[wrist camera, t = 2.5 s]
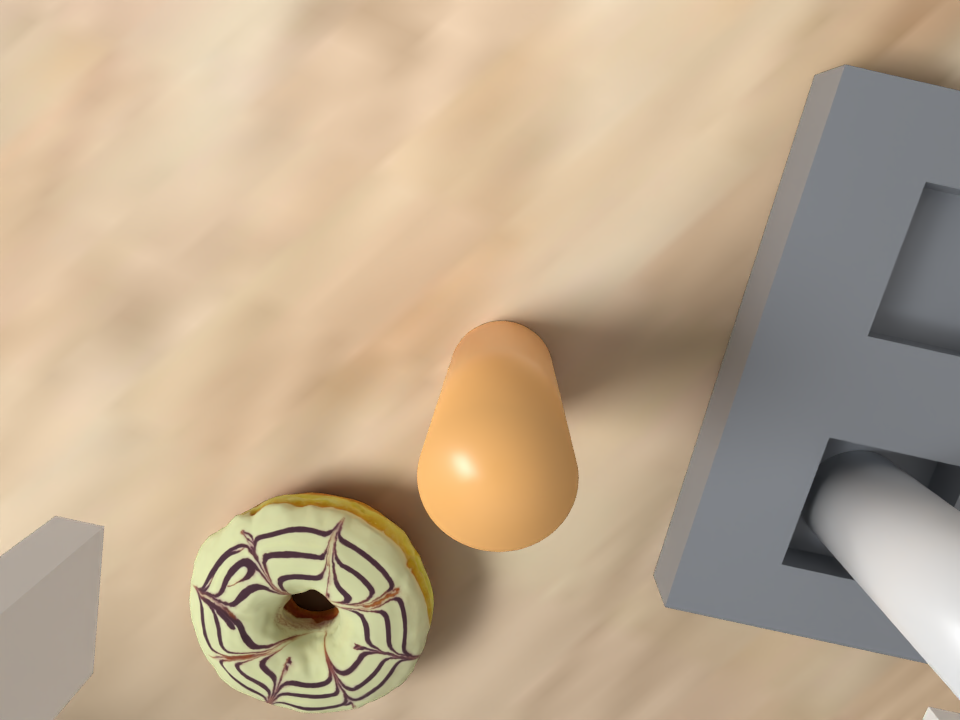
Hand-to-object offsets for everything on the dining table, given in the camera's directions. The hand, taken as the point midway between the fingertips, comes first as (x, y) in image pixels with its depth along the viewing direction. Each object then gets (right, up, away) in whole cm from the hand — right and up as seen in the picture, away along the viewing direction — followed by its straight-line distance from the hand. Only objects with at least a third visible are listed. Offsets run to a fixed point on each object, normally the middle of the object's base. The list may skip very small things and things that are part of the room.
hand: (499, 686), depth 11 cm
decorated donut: (-8, -5, +22) cm, 24 cm away
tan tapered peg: (+1, +5, +18) cm, 19 cm away
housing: (+17, +4, +18) cm, 25 cm away
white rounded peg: (+16, -1, +19) cm, 24 cm away
